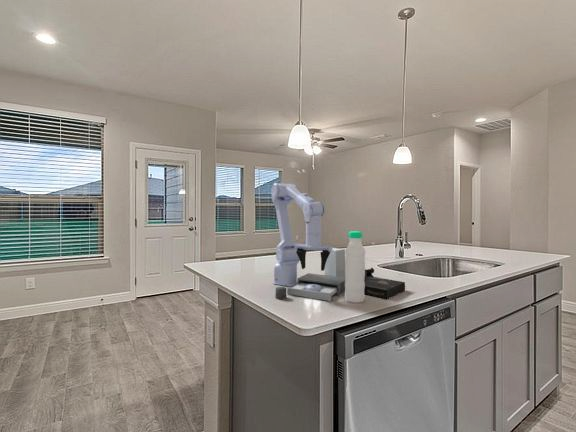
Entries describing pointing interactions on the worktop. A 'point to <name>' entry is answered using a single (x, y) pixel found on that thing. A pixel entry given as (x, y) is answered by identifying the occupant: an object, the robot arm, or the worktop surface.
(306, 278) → the housing
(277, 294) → the dark grey cylinder
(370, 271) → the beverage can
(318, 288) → the disc
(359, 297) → the water bottle
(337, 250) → the skincare box
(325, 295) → the tray
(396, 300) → the worktop surface
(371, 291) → the portable cd player
